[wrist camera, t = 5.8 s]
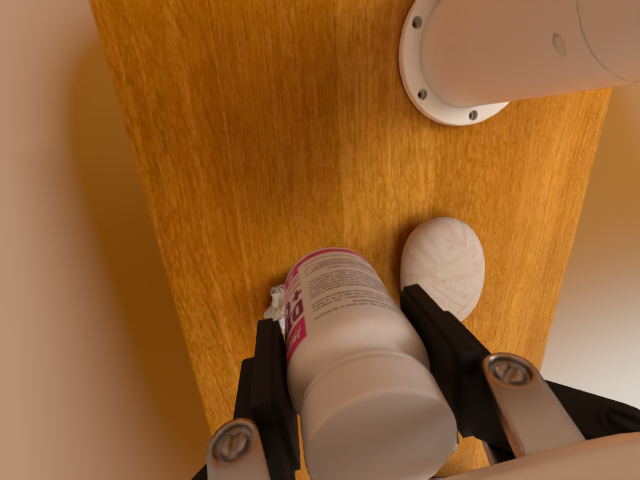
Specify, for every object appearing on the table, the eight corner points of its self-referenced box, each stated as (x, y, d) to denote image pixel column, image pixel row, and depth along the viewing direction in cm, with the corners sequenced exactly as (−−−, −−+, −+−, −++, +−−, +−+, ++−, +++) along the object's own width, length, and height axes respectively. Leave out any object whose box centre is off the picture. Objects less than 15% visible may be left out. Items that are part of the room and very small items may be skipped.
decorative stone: (460, 309, 37) (487, 334, 32) (390, 318, 36) (407, 345, 31) (472, 207, 33) (505, 219, 28) (393, 214, 32) (413, 228, 27)
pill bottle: (273, 255, 14) (268, 405, 6) (369, 235, 15) (476, 353, 7) (293, 336, 16) (309, 532, 8) (379, 316, 16) (474, 486, 8)
